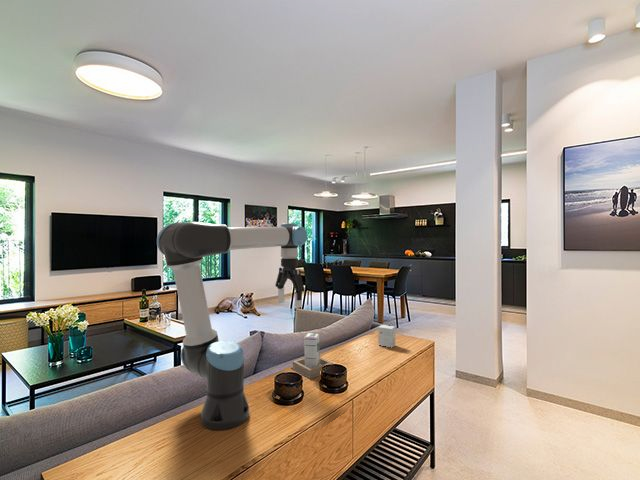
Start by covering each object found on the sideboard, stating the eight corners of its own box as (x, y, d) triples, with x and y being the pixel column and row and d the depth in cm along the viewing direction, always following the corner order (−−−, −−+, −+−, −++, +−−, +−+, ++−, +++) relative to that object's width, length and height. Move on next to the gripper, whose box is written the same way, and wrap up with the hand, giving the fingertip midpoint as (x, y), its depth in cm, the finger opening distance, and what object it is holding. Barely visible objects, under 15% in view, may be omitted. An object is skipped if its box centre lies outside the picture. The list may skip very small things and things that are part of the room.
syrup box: (317, 370, 142) (317, 337, 142) (304, 369, 144) (304, 336, 144) (319, 365, 148) (319, 333, 148) (307, 364, 149) (307, 332, 149)
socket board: (309, 378, 136) (309, 371, 136) (290, 368, 147) (290, 361, 147) (334, 370, 144) (334, 363, 144) (315, 360, 155) (315, 354, 155)
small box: (395, 345, 178) (395, 326, 178) (392, 348, 173) (392, 328, 173) (381, 343, 182) (381, 324, 182) (378, 346, 177) (378, 326, 177)
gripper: (312, 258, 138) (312, 308, 138) (281, 256, 158) (281, 299, 158) (298, 259, 134) (298, 311, 134) (268, 256, 153) (268, 301, 153)
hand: (289, 305), depth 146 cm, fingers open, 13 cm apart
